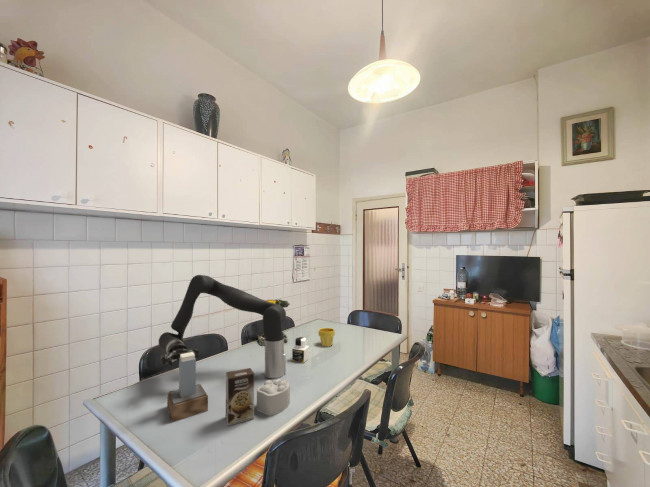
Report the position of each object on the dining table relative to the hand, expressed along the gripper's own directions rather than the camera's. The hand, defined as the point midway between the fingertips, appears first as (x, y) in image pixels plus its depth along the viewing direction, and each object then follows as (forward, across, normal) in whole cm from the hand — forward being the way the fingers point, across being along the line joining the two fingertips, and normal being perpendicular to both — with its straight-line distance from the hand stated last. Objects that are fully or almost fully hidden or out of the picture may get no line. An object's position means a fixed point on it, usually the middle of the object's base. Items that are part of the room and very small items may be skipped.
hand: (183, 360), depth 115 cm
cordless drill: (-46, +63, +16) cm, 80 cm away
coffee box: (+27, +14, +16) cm, 34 cm away
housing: (+9, 0, +10) cm, 13 cm away
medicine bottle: (-6, +60, +16) cm, 62 cm away
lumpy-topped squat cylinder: (+27, +28, +16) cm, 42 cm away
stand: (+9, 0, +16) cm, 18 cm away
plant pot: (-17, +86, +16) cm, 89 cm away
